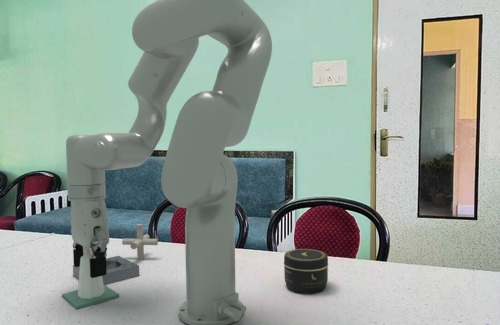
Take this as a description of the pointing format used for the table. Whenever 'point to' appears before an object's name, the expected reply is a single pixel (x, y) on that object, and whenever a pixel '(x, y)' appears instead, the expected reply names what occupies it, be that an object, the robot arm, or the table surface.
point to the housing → (115, 270)
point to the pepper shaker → (88, 278)
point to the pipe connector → (140, 242)
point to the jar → (306, 270)
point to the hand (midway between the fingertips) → (89, 270)
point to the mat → (80, 303)
